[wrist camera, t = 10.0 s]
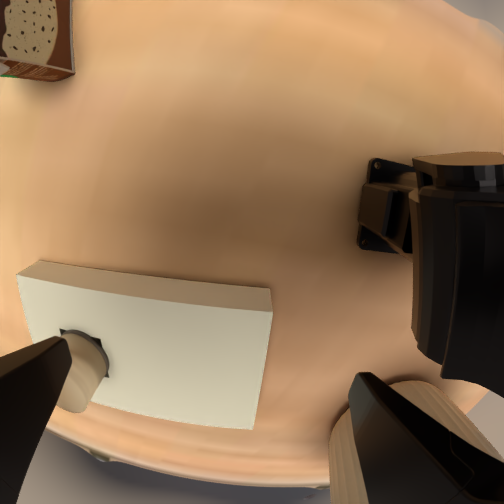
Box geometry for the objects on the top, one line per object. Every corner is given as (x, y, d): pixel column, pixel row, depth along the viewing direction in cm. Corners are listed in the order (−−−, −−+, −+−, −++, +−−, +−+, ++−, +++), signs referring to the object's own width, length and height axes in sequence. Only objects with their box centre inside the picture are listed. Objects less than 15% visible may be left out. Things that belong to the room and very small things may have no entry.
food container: (24, 20, 13) (-39, -5, 3) (73, -13, 12) (14, -56, 3) (24, 122, 16) (-63, 121, 7) (77, 89, 16) (-15, 63, 6)
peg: (116, 319, 20) (76, 374, 14) (123, 364, 22) (94, 420, 15) (69, 309, 20) (24, 355, 14) (79, 353, 22) (44, 402, 15)
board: (269, 288, 21) (273, 312, 17) (252, 401, 24) (252, 429, 21) (39, 260, 20) (15, 274, 17) (64, 366, 24) (49, 386, 20)
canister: (303, 467, 29) (321, 602, 9) (305, 373, 23) (354, 609, 3) (426, 435, 28) (475, 543, 8) (466, 334, 23) (576, 466, 3)
